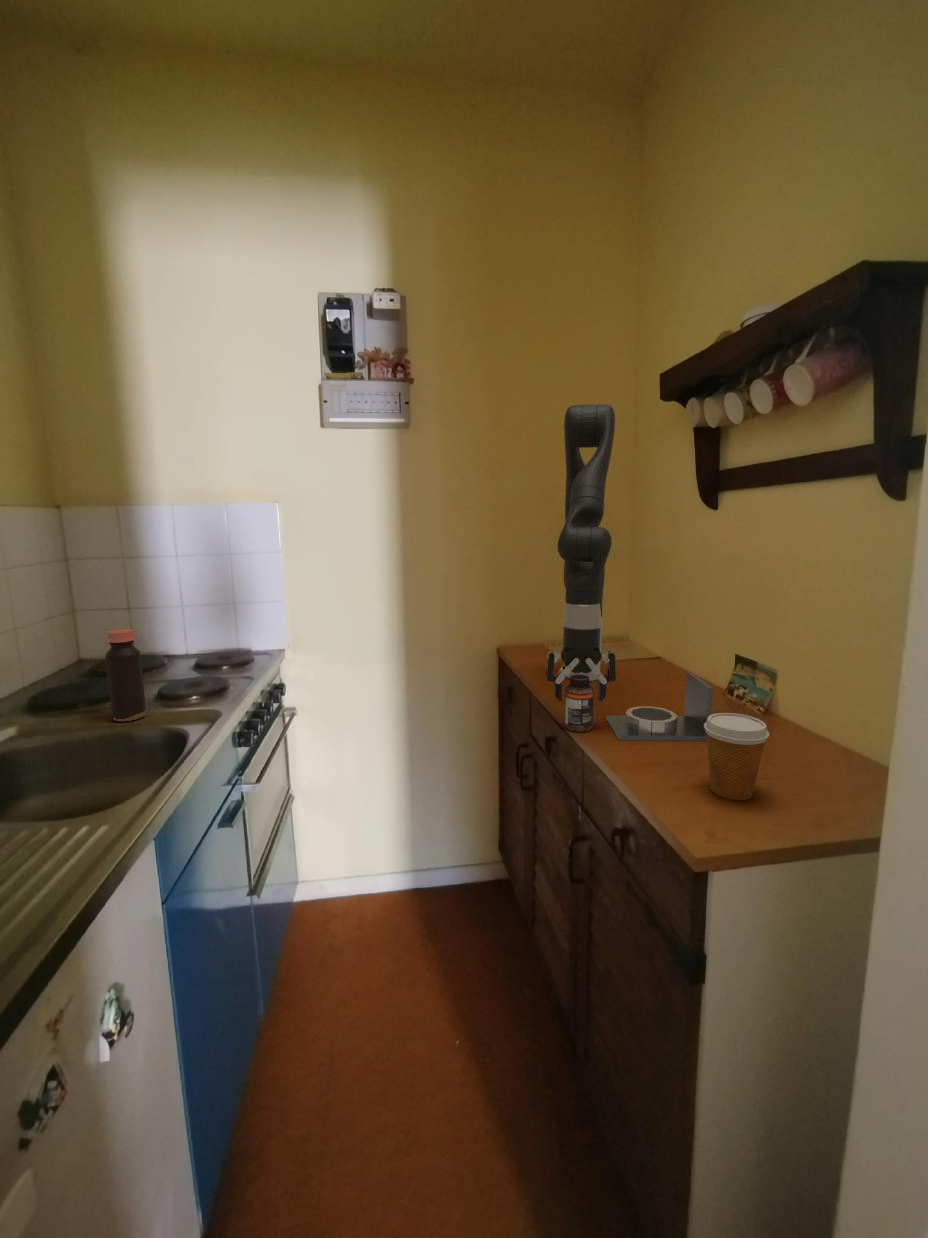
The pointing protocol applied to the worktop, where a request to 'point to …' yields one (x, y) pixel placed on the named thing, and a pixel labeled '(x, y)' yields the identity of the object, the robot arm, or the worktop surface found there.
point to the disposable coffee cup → (734, 753)
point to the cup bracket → (668, 717)
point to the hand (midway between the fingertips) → (579, 700)
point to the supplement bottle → (579, 704)
